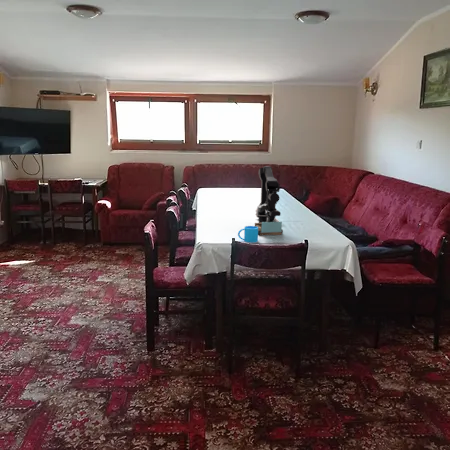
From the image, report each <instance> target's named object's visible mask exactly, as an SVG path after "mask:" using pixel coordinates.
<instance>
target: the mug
mask: <svg viewBox="0 0 450 450" xmlns="http://www.w3.org/2000/svg"><path fill="white" fill-rule="evenodd" d="M242 231H244V235H243V237H241V235H240V233H241V232H242ZM237 233H238V234H237V236H238V238H239V239H240V240H242V241H244V242H246V243H257V242H258V241H259V235H258V227H256V226H255V225H246V226H244V228H241V229H240V230H239V231H238V232H237Z"/></svg>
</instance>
